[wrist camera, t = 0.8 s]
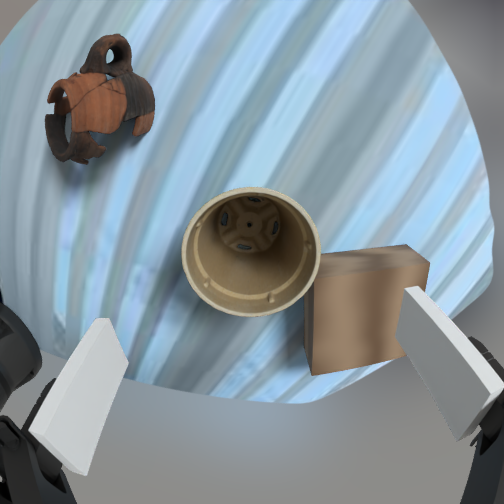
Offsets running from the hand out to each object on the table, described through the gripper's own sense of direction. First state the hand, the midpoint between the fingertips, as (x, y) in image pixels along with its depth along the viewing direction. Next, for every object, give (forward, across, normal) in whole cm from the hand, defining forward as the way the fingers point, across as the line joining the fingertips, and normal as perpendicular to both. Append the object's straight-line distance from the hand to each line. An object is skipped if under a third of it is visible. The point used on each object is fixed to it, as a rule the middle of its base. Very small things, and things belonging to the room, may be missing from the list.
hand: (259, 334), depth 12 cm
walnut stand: (+16, +11, -10) cm, 22 cm away
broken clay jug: (+17, -12, +14) cm, 25 cm away
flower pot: (+17, 0, 0) cm, 17 cm away
